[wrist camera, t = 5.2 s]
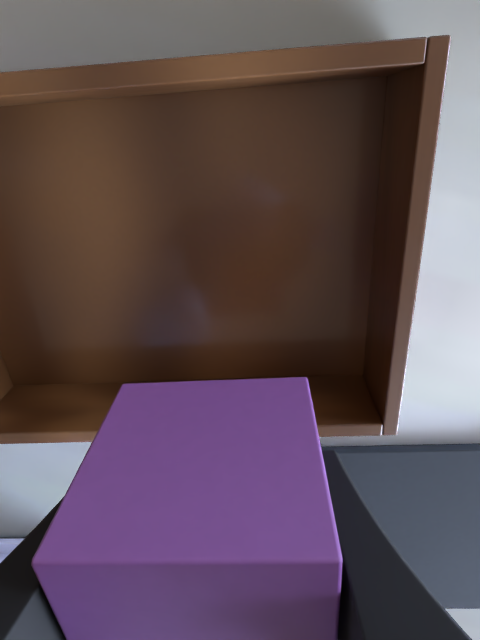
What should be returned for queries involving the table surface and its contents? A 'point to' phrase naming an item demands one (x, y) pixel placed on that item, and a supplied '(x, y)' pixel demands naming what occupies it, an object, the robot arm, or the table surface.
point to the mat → (426, 511)
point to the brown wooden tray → (215, 228)
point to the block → (198, 519)
